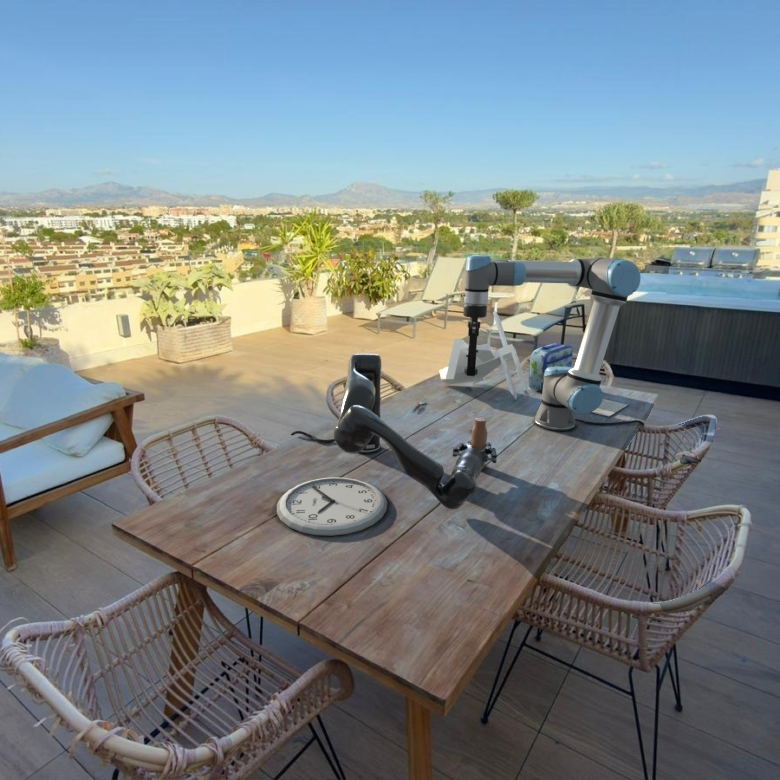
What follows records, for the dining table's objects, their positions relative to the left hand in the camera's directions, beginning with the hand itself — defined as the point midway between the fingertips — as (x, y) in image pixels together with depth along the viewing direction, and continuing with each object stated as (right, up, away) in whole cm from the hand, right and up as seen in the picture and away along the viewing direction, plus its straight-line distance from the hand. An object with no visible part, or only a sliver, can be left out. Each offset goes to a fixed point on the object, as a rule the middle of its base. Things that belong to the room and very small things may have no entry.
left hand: (480, 443), depth 168 cm
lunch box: (+47, +18, +84) cm, 98 cm away
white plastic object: (+13, +16, +75) cm, 78 cm away
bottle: (-1, -7, 0) cm, 7 cm away
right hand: (-2, +23, +9) cm, 24 cm away
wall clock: (-45, -14, -25) cm, 53 cm away
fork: (-17, +10, +54) cm, 58 cm away
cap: (-2, +24, +8) cm, 26 cm away
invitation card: (+62, +10, +58) cm, 86 cm away
